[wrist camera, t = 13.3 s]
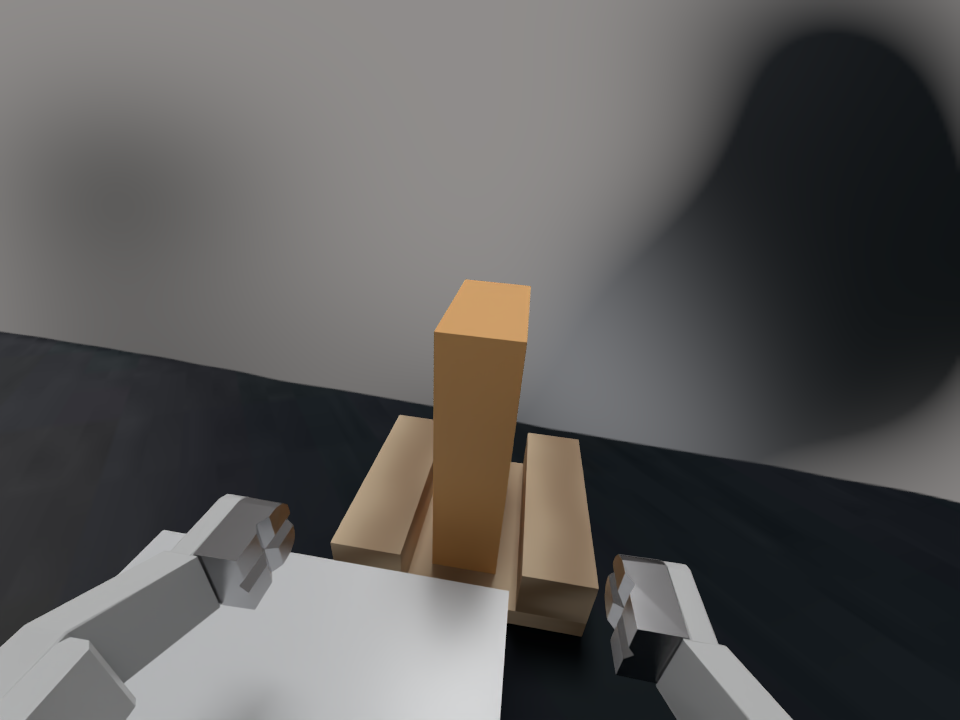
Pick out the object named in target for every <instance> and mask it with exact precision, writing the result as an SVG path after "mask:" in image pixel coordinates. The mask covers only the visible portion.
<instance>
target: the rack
mask: <svg viewBox="0 0 960 720" xmlns="http://www.w3.org/2000/svg"><path fill="white" fill-rule="evenodd" d="M432 544H433V420H432V419H424V418H417V417H410V416H403V415H399V417H398V419H397V421H396V423H395V425H394V426H393V428H392V430H391V432H390V434H389V436H388V438H387V439H386V441H385V443H384V445H383V447H382V449H381V450H380V452H379V454H378V456H377V458H376V460H375V461H374V463H373V465H372V467H371V469H370V471H369V473H368V474H367V476H366V478H365V480H364V482H363V484H362V485H361V487H360V489H359V491H358V493H357V495H356V496H355V498H354V500H353V502H352V504H351V506H350V508H349V509H348V511H347V513H346V515H345V517H344V519H343V520H342V522H341V524H340V526H339V528H338V530H337V532H336V533H335V535H334V537H333V539H332V541H331V548H332V554H333V559H334V560H336V561H342V562H348V563H353V564H359V565H365V566H370V567H376V568H382V569H387V570H393V571H399V572H404V573H410V574H416V575H421V576H427V577H433V578H438V579H444V580H450V581H455V582H461V583H466V584H472V585H478V586H483V587H489V588H495V589H500V590H506V591H509V599H508V613H507V623H511V624H516V625H521V626H527V627H532V628H538V629H543V630H549V631H554V632H559V633H565V634H570V635H576V636H581V637H582V634H583V631H584V629H585V626H586V623H587V620H588V617H589V615H590V612H591V609H592V606H593V603H594V601H595V598H596V595H597V592H598V589H599V587H598V580H597V573H596V565H595V558H594V551H593V543H592V536H591V529H590V521H589V514H588V507H587V499H586V492H585V485H584V477H583V470H582V463H581V455H580V448H579V441H578V440H576V439H569V438H562V437H554V436H547V435H540V434H533V433H528V437H527V443H526V450H525V456H524V462H523V464H521V463H514V462H511V464H510V471H509V479H508V486H507V493H506V501H505V508H504V515H503V523H502V530H501V537H500V545H499V552H498V559H497V567H496V574H490V573H484V572H478V571H473V570H467V569H461V568H455V567H449V566H443V565H438V564H432Z"/></svg>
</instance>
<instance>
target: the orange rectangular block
mask: <svg viewBox="0 0 960 720" xmlns="http://www.w3.org/2000/svg"><path fill="white" fill-rule="evenodd" d="M530 289H531V286H524V285H513V284H505V283H495V282H485V281H476V280H465V281H464V283H463V284H462V286H461V288H460V290H459V291H458V293H457V294H456V296H455V298H454V299H453V301H452V303H451V304H450V306H449V308H448V309H447V311H446V313H445V314H444V316H443V318H442V319H441V321H440V323H439V324H438V326H437V328H436V330H435V331H434V413H433V544H432V564H438V565H443V566H449V567H455V568H461V569H467V570H473V571H478V572H484V573H490V574H496V567H497V559H498V552H499V545H500V537H501V530H502V523H503V515H504V508H505V501H506V493H507V486H508V479H509V471H510V464H511V457H512V449H513V442H514V435H515V427H516V420H517V413H518V405H519V398H520V391H521V383H522V375H523V369H524V361H525V354H526V346H527V336H528V320H529V304H530Z"/></svg>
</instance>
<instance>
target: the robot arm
mask: <svg viewBox="0 0 960 720" xmlns="http://www.w3.org/2000/svg"><path fill="white" fill-rule="evenodd" d="M289 514H290V511H289V508H288V505H287V504H283V503H278V502H272V501H266V500H260V499H255V498H249V497H244V496H237V495H231V494H227V495H225V496H223V497H221V498H220V499H219V500H218V501H217V502H216V503H215V504H214V505H213V506H212V507H211V508H210V509H209V510H208V511H207V512H206V514H205V515H204V516H203V517H202V518H201V519H200V520H199V521H198V522H197V523H196V524H195V525H194V526H193V527H192V528H191V530H190V531H189V532H188V533H187V534H186V535H185V536H184V537H183V538H182V539H181V540H180V541H179V542H178V543H177V545H176V546H175V547H174V548H173V549H172V550H171V551H163V552H161V553H159V554H157V555H155V556H153V557H151V558H149V559H148V560H146V561H144V562H142V563H140V564H138V565H136V566H134V567H133V568H131V569H129V570H127V571H125V572H123V573H121V574H119V575H118V576H116V577H114V578H112V579H110V580H108V581H106V582H104V583H103V584H101V585H99V586H97V587H95V588H93V589H91V590H89V591H88V592H86V593H84V594H82V595H80V596H78V597H76V598H75V599H73V600H71V601H69V602H67V603H65V604H63V605H61V606H60V607H58V608H56V609H54V610H52V611H50V612H48V613H46V614H45V615H43V616H41V617H39V618H37V619H35V620H33V621H31V622H30V623H28V624H26V625H24V626H23V627H22V628H21V629H20V630H19V631H18V632H16V633H15V634H14V635H13V636H12V637H11V638H10V639H9V640H8V641H7V642H6V643H4V644H3V645H2V646H1V647H0V720H126V719H127V718H128V716H129V715H130V714H131V712H132V711H133V709H134V708H135V707H136V698H135V697H134V695H133V694H132V693H131V692H130V690H129V689H128V688H127V687H126V686H125V684H124V683H125V682H126V681H127V680H129V679H130V678H131V677H132V676H134V675H135V674H136V673H138V672H139V671H140V670H141V669H143V668H144V667H145V666H146V665H148V664H149V663H150V662H152V661H153V660H154V659H155V658H157V657H158V656H159V655H160V654H162V653H163V652H164V651H165V650H167V649H168V648H169V647H171V646H172V645H173V644H174V643H176V642H177V641H178V640H179V639H181V638H182V637H183V636H184V635H186V634H187V633H188V632H190V631H191V630H192V629H193V628H195V627H196V626H197V625H198V624H200V623H201V622H202V621H203V620H205V619H206V618H207V617H209V616H210V615H211V614H212V613H214V612H215V611H216V610H217V609H219V608H220V605H226V606H232V607H239V608H246V609H253V610H255V609H256V607H257V606H258V604H259V603H260V601H261V599H262V598H263V596H264V595H265V593H266V591H267V590H268V588H269V587H270V585H271V583H272V572H273V571H274V570H276V569H277V568H279V567H280V566H282V565H283V564H284V562H285V561H286V559H287V557H288V556H289V554H290V552H291V549H292V546H293V543H294V536H295V531H294V527H293V525H292V524H291V523H290V522H289V521H288V520H287V517H288V516H289ZM613 567H614V573H612V574H610V575H609V576H608V579H607V582H606V588H605V607H606V614H607V619H608V621H609V622H610V623H611V625H612V626H613V628H614V629H615V630H614V633H613V635H612V638H611V640H610V641H611V647H612V653H613V660H614V666H615V672H616V675H619V676H624V677H628V678H633V679H638V680H643V681H647V682H652V683H657V685H656V687H657V688H658V690H659V691H660V693H661V695H662V696H663V698H664V699H665V701H666V703H667V704H668V706H669V708H670V709H671V711H672V712H673V714H674V716H675V717H676V719H677V720H793V719H792V718H791V717H790V716H789V715H788V714H787V713H786V712H785V711H784V710H783V708H782V707H781V706H780V705H779V704H778V703H777V702H776V701H775V700H774V698H773V697H772V696H771V695H770V694H769V693H768V692H767V691H766V690H765V689H764V687H763V686H762V685H761V684H760V683H759V682H758V681H757V680H756V679H755V678H754V676H753V675H752V674H751V673H750V672H749V671H748V670H747V669H746V668H745V667H744V665H743V664H742V663H741V662H740V661H739V660H738V659H737V658H736V657H735V655H734V654H733V653H732V652H731V651H730V650H729V649H728V648H727V647H726V646H723V645H719V644H718V642H717V639H716V637H715V634H714V631H713V629H712V626H711V624H710V621H709V618H708V616H707V613H706V610H705V608H704V605H703V603H702V600H701V597H700V595H699V592H698V589H697V587H696V584H695V581H694V579H693V576H692V574H691V571H690V569H689V568H688V567H687V566H686V565H684V564H680V563H672V562H665V561H661V560H656V559H649V558H641V557H634V556H627V555H620V554H618V555H617V556H616V557H615V559H614V562H613Z"/></svg>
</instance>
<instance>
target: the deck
mask: <svg viewBox="0 0 960 720" xmlns="http://www.w3.org/2000/svg"><path fill="white" fill-rule="evenodd" d="M185 535H186V534H183V533H178V532H172V531H166V530H163V531H162V532H161V533H160V534H159V535H158V536H157V537H156V538H155V539H154V540H153V541H152V542H151V543H150V544H149V545H148V546H147V547H146V548H145V549H144V550H143V551H142V552H141V553H140V554H139V555H138V556H137V557H136V558H135V559H134V560H133V561H132V562H131V563H130V564H129V565H128V566H127V567H126V568H124V569H123V570H122V571H121V572H120V573H119V574H121V573H123V572H125V571H127V570H129V569H131V568H133V567H134V566H136V565H138V564H140V563H142V562H144V561H146V560H148V559H149V558H151V557H153V556H155V555H157V554H159V553H161V552H163V551H171V550H172V549H173V548H174V547H175V546H176V545H177V543H178V542H179V541H180V540H181V539H182V538H183V537H184V536H185ZM119 574H118V575H119ZM118 575H117V576H118ZM508 599H509V591H506V590H500V589H495V588H489V587H483V586H478V585H472V584H466V583H461V582H455V581H450V580H444V579H438V578H433V577H427V576H421V575H416V574H410V573H404V572H399V571H393V570H387V569H382V568H376V567H370V566H365V565H359V564H353V563H348V562H342V561H336V560H331V559H325V558H319V557H314V556H308V555H302V554H297V553H291V552H290V554H289V556H288V557H287V559H286V561H285V562H284V564H283V565H282V566H280V567H279V568H277V569H276V570H274V571H273V572H272V583H271V585H270V587H269V588H268V590H267V591H266V593H265V595H264V596H263V598H262V599H261V601H260V603H259V604H258V606H257V607H256V609H255V610H253V609H246V608H239V607H232V606H226V605H220V608H219V609H217V610H216V611H215V612H214V613H212V614H211V615H210V616H209V617H207V618H206V619H205V620H203V621H202V622H201V623H200V624H198V625H197V626H196V627H195V628H193V629H192V630H191V631H190V632H188V633H187V634H186V635H184V636H183V637H182V638H181V639H179V640H178V641H177V642H176V643H174V644H173V645H172V646H171V647H169V648H168V649H167V650H165V651H164V652H163V653H162V654H160V655H159V656H158V657H157V658H155V659H154V660H153V661H152V662H150V663H149V664H148V665H146V666H145V667H144V668H143V669H141V670H140V671H139V672H138V673H136V674H135V675H134V676H132V677H131V678H130V679H129V680H127V681H126V682H125V683H124V684H125V686H126V687H127V688H128V689H129V690H130V692H131V693H132V694H133V695H134V697H135V698H136V707H135V708H134V709H133V711H132V712H131V714H130V715H129V716H128V718H127V719H126V720H500V712H501V698H502V684H503V669H504V655H505V641H506V627H507V613H508Z"/></svg>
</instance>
